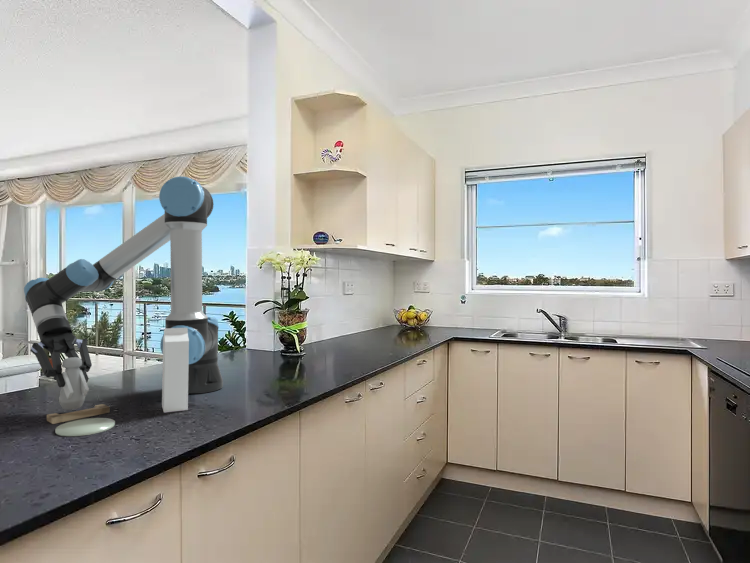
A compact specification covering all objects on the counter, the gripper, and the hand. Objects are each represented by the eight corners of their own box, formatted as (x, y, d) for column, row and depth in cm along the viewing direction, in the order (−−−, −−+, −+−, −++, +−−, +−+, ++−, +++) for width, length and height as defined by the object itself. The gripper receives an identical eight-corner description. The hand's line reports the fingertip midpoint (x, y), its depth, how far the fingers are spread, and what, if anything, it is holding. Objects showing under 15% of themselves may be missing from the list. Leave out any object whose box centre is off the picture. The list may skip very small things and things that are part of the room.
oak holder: (46, 420, 116) (46, 414, 116) (102, 409, 127) (102, 404, 127) (53, 424, 114) (53, 417, 114) (109, 412, 124) (109, 406, 124)
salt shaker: (57, 411, 119) (57, 360, 119) (60, 406, 124) (60, 357, 124) (84, 409, 122) (84, 358, 122) (86, 403, 127) (86, 355, 127)
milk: (187, 410, 128) (189, 329, 127) (163, 413, 125) (165, 330, 124) (184, 404, 133) (186, 326, 132) (161, 406, 130) (163, 326, 129)
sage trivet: (122, 419, 118) (122, 417, 118) (102, 435, 106) (102, 432, 106) (70, 420, 117) (70, 418, 117) (44, 437, 105) (44, 434, 105)
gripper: (80, 331, 139) (106, 396, 129) (14, 336, 126) (37, 409, 116) (88, 314, 135) (115, 379, 126) (21, 318, 123) (46, 391, 113)
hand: (78, 394), depth 121 cm, fingers closed on salt shaker, 3 cm apart
